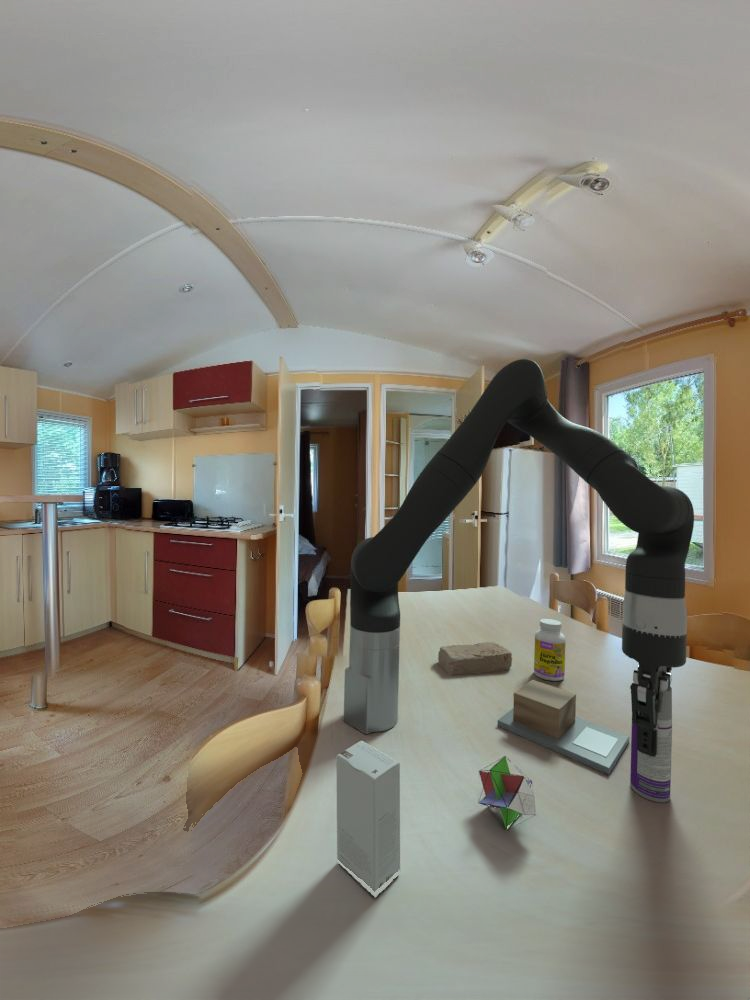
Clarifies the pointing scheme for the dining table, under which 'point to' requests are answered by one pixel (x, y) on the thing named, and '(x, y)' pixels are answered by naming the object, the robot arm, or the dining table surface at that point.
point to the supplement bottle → (549, 651)
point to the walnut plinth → (544, 708)
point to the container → (654, 758)
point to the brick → (474, 658)
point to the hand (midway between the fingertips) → (650, 744)
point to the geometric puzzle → (507, 792)
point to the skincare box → (368, 813)
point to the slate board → (577, 741)
